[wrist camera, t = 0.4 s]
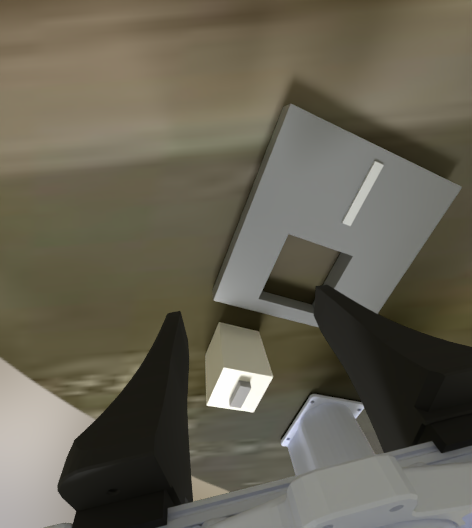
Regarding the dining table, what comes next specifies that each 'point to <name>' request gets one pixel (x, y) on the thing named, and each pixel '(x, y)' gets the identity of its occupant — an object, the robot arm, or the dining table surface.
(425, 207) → the socket plate
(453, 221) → the dining table surface
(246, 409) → the block
